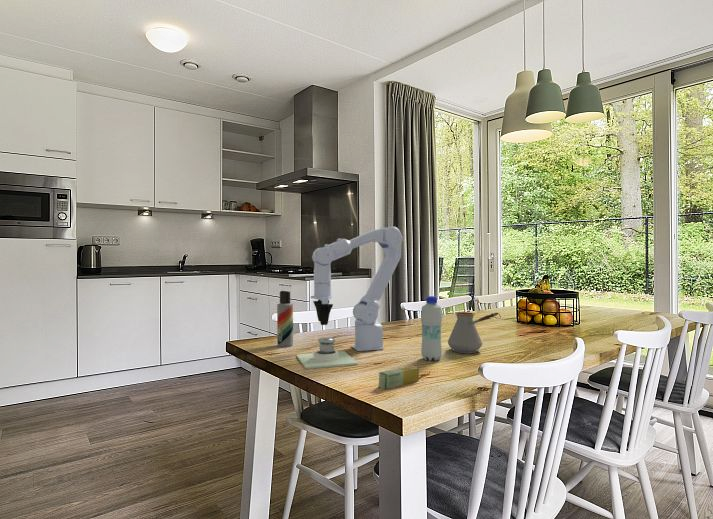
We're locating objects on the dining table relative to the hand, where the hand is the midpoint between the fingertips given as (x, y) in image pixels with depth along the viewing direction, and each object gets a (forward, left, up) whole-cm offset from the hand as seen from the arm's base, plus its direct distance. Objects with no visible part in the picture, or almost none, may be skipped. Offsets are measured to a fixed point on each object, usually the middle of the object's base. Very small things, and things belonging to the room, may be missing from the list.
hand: (322, 322), depth 148 cm
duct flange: (+2, +12, -10) cm, 15 cm away
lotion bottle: (+11, -14, -10) cm, 21 cm away
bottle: (-30, +21, -10) cm, 38 cm away
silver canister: (+1, +11, -9) cm, 14 cm away
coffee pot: (-47, +19, -10) cm, 52 cm away
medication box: (-11, +41, -10) cm, 44 cm away
